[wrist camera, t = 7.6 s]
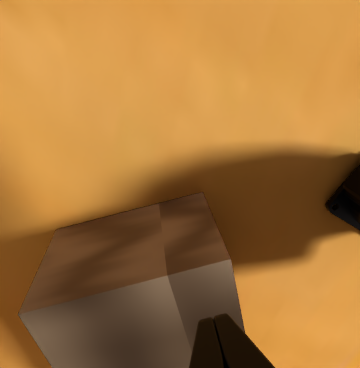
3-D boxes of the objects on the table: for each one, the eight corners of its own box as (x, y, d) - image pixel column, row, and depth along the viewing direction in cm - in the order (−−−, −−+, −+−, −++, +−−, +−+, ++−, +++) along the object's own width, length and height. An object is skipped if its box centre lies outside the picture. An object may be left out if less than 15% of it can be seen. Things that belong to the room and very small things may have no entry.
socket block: (202, 191, 20) (230, 258, 14) (233, 332, 26) (262, 423, 20) (53, 230, 20) (14, 315, 14) (118, 362, 26) (112, 463, 20)
